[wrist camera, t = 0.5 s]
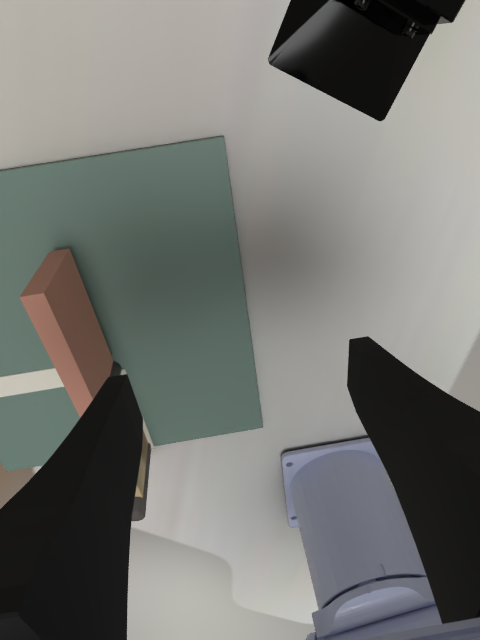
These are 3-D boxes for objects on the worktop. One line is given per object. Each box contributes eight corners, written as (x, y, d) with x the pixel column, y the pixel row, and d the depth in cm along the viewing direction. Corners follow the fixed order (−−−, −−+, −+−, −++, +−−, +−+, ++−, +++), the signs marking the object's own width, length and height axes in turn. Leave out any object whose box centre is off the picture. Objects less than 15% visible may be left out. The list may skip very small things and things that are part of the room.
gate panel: (113, 360, 22) (100, 416, 19) (96, 363, 22) (81, 419, 19) (69, 248, 18) (43, 293, 15) (49, 251, 18) (19, 297, 15)
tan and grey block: (152, 449, 27) (147, 519, 23) (11, 474, 27) (-19, 548, 23) (118, 359, 23) (104, 425, 19) (-52, 387, 22) (-103, 460, 18)
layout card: (262, 426, 27) (263, 430, 27) (9, 469, 27) (7, 473, 27) (223, 135, 17) (223, 137, 17) (-186, 198, 17) (-193, 201, 16)
